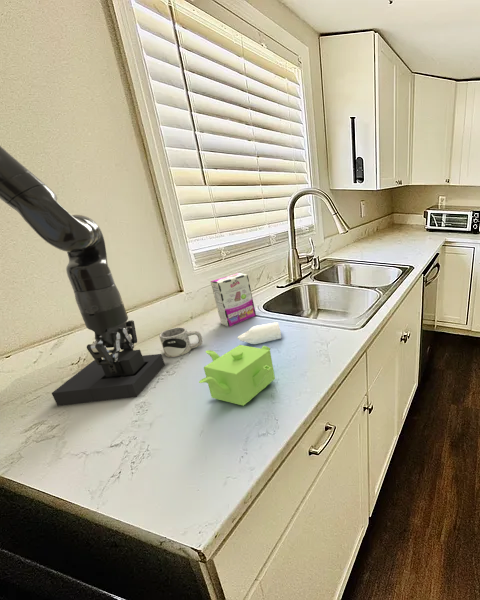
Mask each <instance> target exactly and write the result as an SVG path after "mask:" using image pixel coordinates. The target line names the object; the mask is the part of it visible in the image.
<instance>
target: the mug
mask: <svg viewBox="0 0 480 600" xmlns="http://www.w3.org/2000/svg"><path fill="white" fill-rule="evenodd" d="M158 335H159V340H160V343H161V346H162V350H163V352H164V355H165V357H167V358H176V357H180V356H183V355H186V354H188V353H189V352H190V351H192V349H195V348H197V347H200V346H202V345H203V342H204V340H203V336H202V334H201V332H200V331H195V330H188V329H187V327H182V326H181V327H179V326H177V327H171V328H168V329H165V330H163V331H161V332H160V333H159V334H158ZM191 336H197V340H198V342H196V343H195V342H194V343H191V341H190V337H191Z"/></svg>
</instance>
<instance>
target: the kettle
mask: <svg viewBox="0 0 480 600" xmlns="http://www.w3.org/2000/svg"><path fill="white" fill-rule="evenodd" d="M205 353H206V354H207V355H208V356H209V357H210V358H211V359H212V361H211V362H209V363H208V364H207V365H205V366H204V367H203V370H204V375H205V377H204V378H202V379H200V380H199V381H198V383H200V384H204V383H206V384H207V385H208V389H209V393H210V397H211V399H215V400H219V401H223V402H227V403H231V404H235V405H238V406H243V407H244V406H245V405H247V403H249V402H250V401H252V399H253V398H255V397H256V396H257V395H259V393H260V392H262V391H263V390H265V389H266V388H267V387H268V385H270V384H271V383H272V382H273V381H274V380H276V376H275V371H274V364H273V358H272V353H271V348H270V347H269V346H267V345H262V346H261V348H260V347H254V346H250V345H249V346H248V345H242V344H239V345H237V346H236V347H234V348H232V349H231V350H229V351H227V352H225V353H224V354H221V356H220V354H218V353H217V352H216V351H214V350H211V349H208V350H205Z"/></svg>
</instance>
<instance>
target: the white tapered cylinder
mask: <svg viewBox="0 0 480 600" xmlns="http://www.w3.org/2000/svg"><path fill="white" fill-rule="evenodd" d="M236 339H238V340H239V342H245V343H248V344H251V345H259V344H263V343H268V342H272V341H277V340H281V339H282V331H281V328H280V324H279V322H278V321H275V322H269V323H263V324H258V325H257V324H256V325H253V326H251V327H250V328H249V329H248V330H246V331H245V332H244V333H241V334H240V335H238V336H237V338H236Z"/></svg>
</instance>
